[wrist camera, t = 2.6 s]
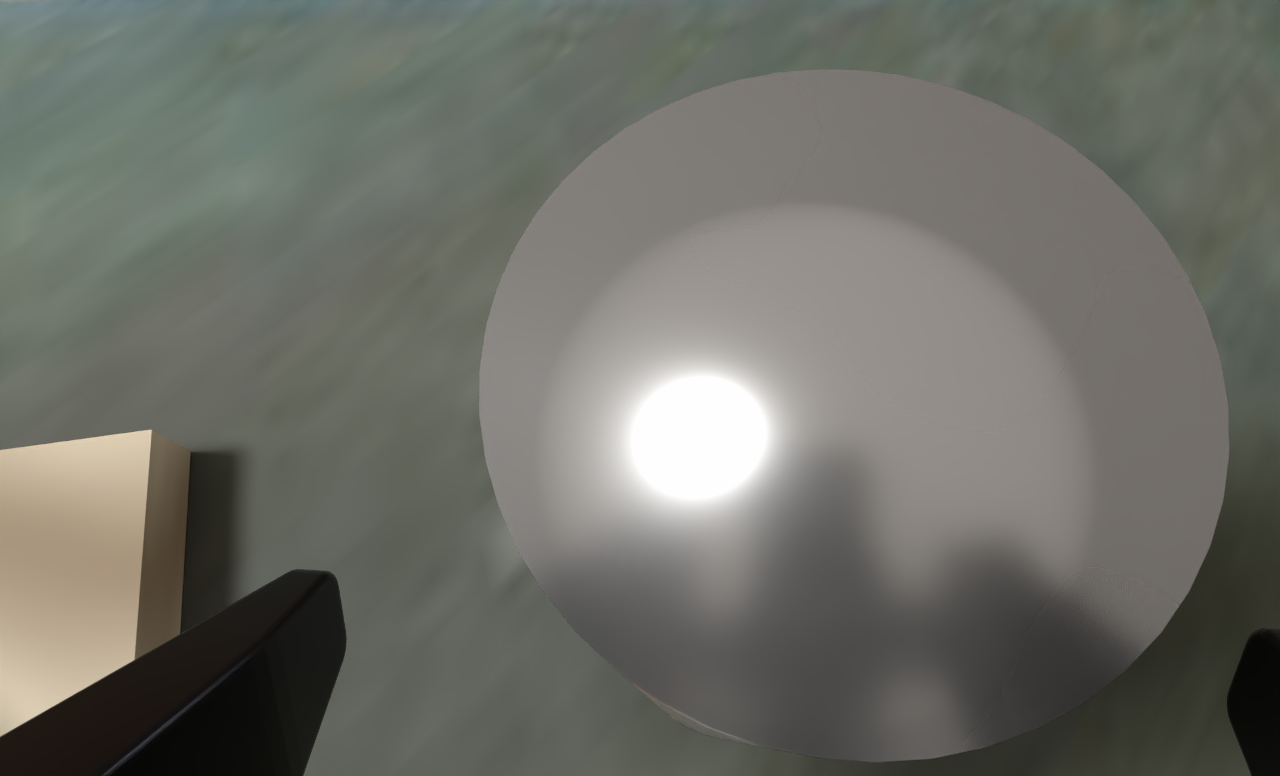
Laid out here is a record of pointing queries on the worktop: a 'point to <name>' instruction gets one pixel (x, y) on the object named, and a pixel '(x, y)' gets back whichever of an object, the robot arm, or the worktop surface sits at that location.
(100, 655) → the socket board
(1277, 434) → the worktop surface
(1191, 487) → the pin
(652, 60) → the worktop surface
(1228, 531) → the worktop surface
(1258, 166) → the worktop surface
